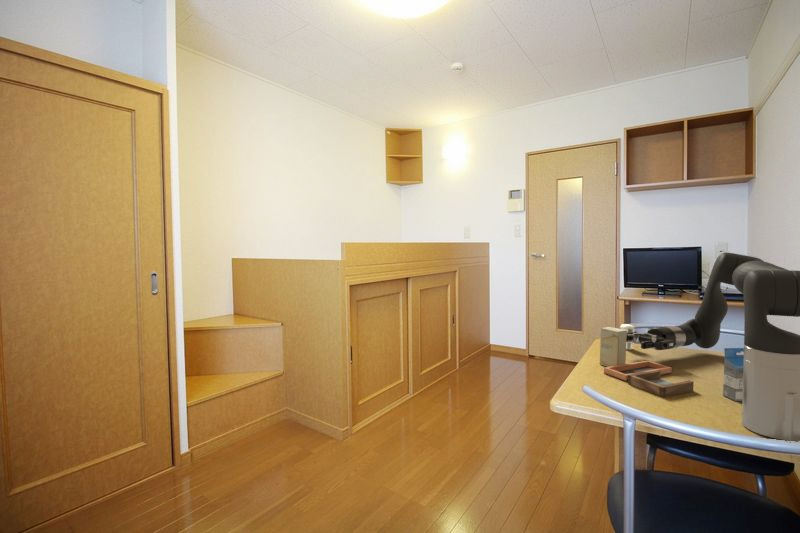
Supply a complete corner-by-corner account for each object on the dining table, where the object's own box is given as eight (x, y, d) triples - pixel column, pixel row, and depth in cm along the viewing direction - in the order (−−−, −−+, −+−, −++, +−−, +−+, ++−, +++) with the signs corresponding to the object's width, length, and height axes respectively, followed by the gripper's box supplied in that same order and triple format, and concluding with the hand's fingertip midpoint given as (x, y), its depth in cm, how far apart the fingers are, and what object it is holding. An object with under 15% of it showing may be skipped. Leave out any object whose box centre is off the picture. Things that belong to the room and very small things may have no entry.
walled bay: (693, 391, 99) (693, 381, 99) (663, 397, 95) (663, 387, 95) (656, 378, 108) (656, 370, 108) (628, 383, 105) (628, 375, 105)
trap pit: (671, 373, 112) (671, 367, 112) (625, 381, 107) (626, 375, 107) (647, 366, 120) (647, 360, 119) (604, 373, 114) (604, 367, 114)
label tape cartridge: (735, 402, 92) (736, 352, 91) (722, 395, 96) (723, 348, 95) (772, 401, 92) (774, 351, 91) (758, 395, 95) (759, 347, 95)
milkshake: (638, 350, 137) (639, 323, 136) (622, 350, 138) (622, 323, 137) (633, 347, 141) (633, 320, 141) (618, 346, 142) (618, 320, 142)
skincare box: (599, 364, 122) (599, 327, 121) (608, 362, 124) (608, 326, 123) (617, 370, 116) (617, 331, 116) (626, 368, 118) (627, 329, 118)
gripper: (646, 322, 134) (611, 326, 128) (688, 331, 120) (650, 335, 115) (646, 343, 134) (611, 348, 129) (687, 354, 120) (650, 359, 115)
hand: (629, 342), depth 122 cm, fingers open, 8 cm apart
